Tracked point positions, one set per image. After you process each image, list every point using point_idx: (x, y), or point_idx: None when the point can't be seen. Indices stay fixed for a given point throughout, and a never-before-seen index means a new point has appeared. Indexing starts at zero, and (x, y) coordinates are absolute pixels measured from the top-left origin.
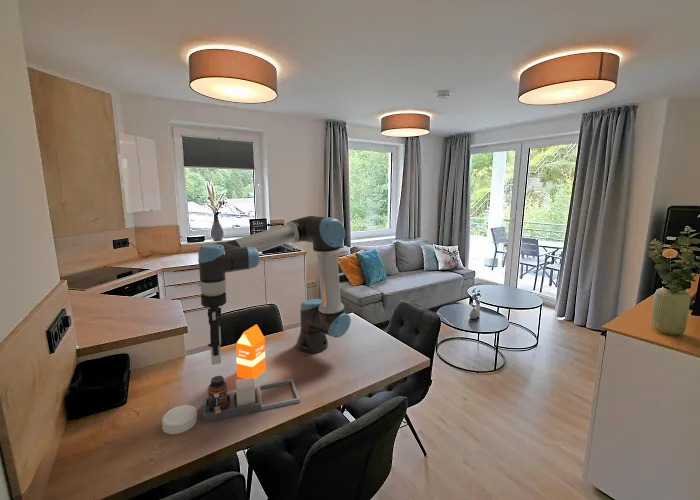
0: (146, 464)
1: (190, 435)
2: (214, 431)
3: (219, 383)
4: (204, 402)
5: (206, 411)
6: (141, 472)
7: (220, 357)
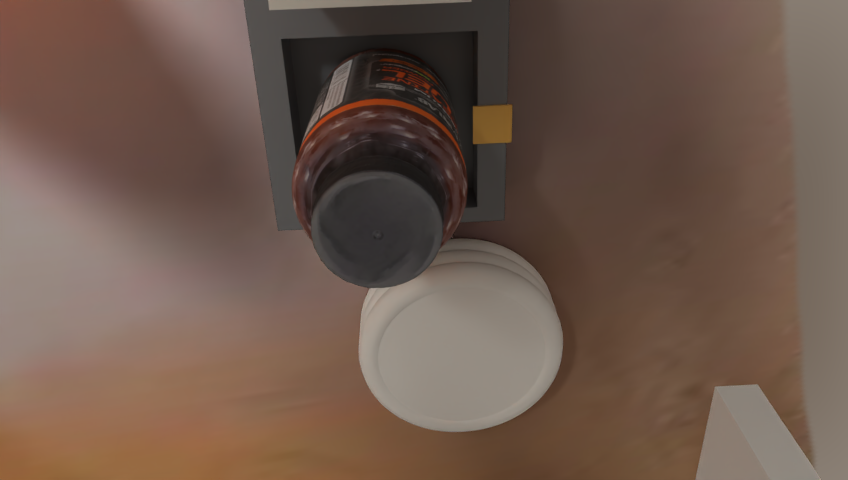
0: None
1: (592, 254)
2: (617, 122)
3: (437, 199)
4: None
5: None
6: None
7: (814, 476)
